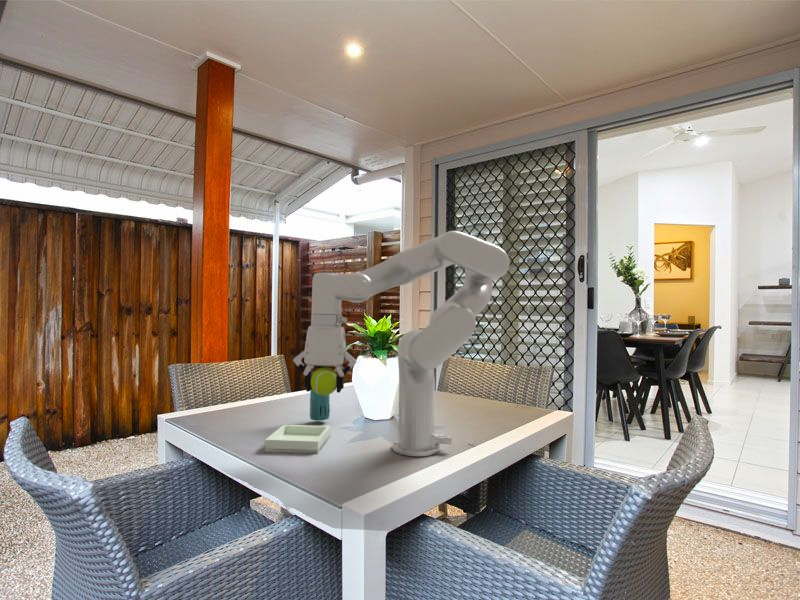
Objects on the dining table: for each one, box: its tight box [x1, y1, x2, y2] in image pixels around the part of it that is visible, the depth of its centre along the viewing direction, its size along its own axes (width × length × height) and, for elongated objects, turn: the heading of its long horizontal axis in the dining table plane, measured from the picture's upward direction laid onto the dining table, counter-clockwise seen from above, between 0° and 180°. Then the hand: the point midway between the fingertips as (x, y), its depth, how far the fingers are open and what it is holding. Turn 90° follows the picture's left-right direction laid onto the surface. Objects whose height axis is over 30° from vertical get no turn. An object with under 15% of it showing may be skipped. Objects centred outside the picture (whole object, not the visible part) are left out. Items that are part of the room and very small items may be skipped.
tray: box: [264, 424, 332, 454], centre depth 118 cm, size 14×14×3 cm
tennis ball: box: [311, 366, 338, 395], centre depth 109 cm, size 7×7×7 cm
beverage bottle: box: [309, 366, 331, 422], centre depth 139 cm, size 6×7×20 cm
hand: (324, 390), depth 109 cm, fingers closed on tennis ball, 7 cm apart
